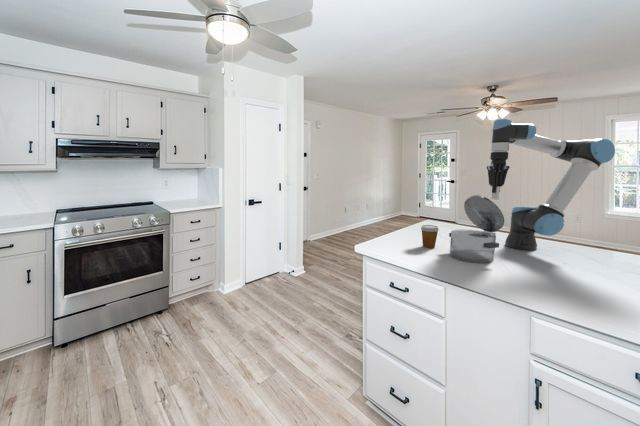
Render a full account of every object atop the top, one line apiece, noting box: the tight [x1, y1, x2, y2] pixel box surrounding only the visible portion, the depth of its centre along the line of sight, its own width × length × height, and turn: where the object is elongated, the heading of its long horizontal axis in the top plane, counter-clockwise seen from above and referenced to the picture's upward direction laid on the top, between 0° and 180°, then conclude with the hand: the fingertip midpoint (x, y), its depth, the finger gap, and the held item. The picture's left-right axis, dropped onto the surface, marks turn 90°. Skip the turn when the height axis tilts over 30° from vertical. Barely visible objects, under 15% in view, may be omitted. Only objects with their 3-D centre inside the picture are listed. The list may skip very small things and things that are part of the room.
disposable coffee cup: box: [420, 224, 440, 250], centre depth 169 cm, size 10×10×12 cm
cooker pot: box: [448, 228, 500, 264], centre depth 151 cm, size 22×25×12 cm
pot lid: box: [463, 194, 505, 233], centre depth 151 cm, size 21×21×4 cm
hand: (495, 199), depth 152 cm, fingers closed
